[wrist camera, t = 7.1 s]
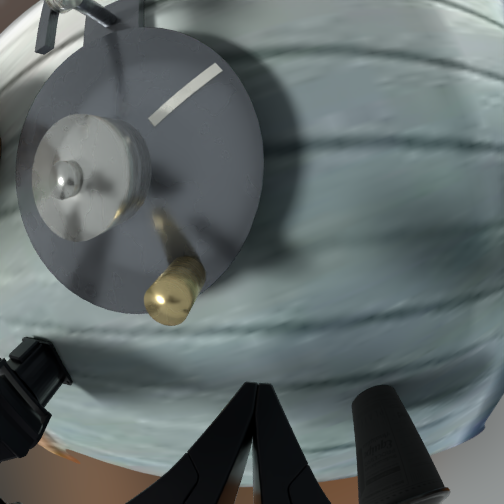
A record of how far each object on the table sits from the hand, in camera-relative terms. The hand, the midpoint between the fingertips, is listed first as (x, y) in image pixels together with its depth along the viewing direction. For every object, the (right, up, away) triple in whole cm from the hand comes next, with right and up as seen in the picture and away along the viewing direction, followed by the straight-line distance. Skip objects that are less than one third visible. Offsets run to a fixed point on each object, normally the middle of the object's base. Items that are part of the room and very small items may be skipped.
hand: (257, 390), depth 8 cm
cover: (-10, +9, +7) cm, 15 cm away
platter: (-9, +10, +8) cm, 16 cm away
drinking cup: (+12, -11, +15) cm, 22 cm away
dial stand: (-11, +21, +6) cm, 24 cm away
